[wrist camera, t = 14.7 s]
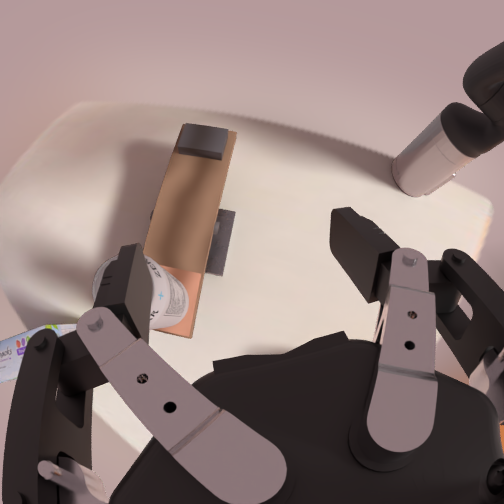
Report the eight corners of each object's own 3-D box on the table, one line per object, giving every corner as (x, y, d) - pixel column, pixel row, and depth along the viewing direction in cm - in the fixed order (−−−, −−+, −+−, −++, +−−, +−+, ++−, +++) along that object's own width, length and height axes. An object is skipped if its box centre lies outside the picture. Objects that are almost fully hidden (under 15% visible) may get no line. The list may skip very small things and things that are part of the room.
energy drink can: (137, 281, 33) (80, 256, 19) (184, 271, 34) (155, 238, 20) (146, 331, 32) (92, 338, 18) (195, 321, 33) (171, 324, 19)
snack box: (20, 378, 36) (-32, 390, 22) (11, 349, 37) (-43, 353, 23) (107, 353, 40) (59, 367, 25) (96, 319, 41) (45, 319, 26)
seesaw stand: (235, 214, 46) (236, 198, 40) (222, 276, 44) (222, 269, 38) (162, 200, 46) (154, 184, 40) (146, 260, 43) (135, 251, 37)
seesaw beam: (239, 141, 42) (240, 124, 38) (196, 338, 35) (192, 340, 31) (181, 132, 41) (178, 115, 37) (129, 322, 35) (118, 322, 31)
